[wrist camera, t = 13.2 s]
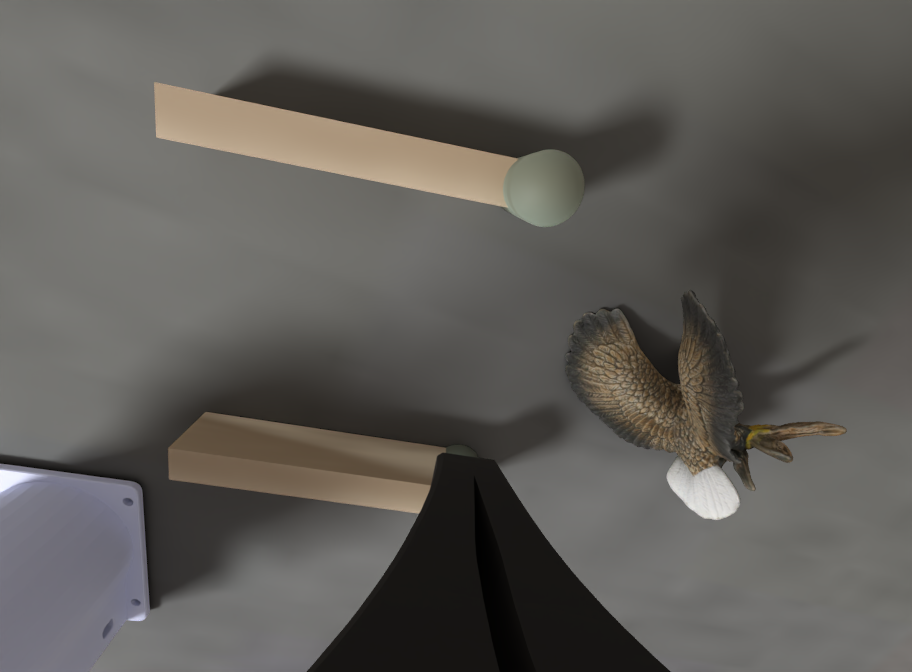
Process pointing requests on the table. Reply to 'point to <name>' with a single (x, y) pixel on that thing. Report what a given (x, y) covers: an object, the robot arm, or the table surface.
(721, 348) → the eagle figurine
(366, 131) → the wooden matchsticks
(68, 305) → the table surface
